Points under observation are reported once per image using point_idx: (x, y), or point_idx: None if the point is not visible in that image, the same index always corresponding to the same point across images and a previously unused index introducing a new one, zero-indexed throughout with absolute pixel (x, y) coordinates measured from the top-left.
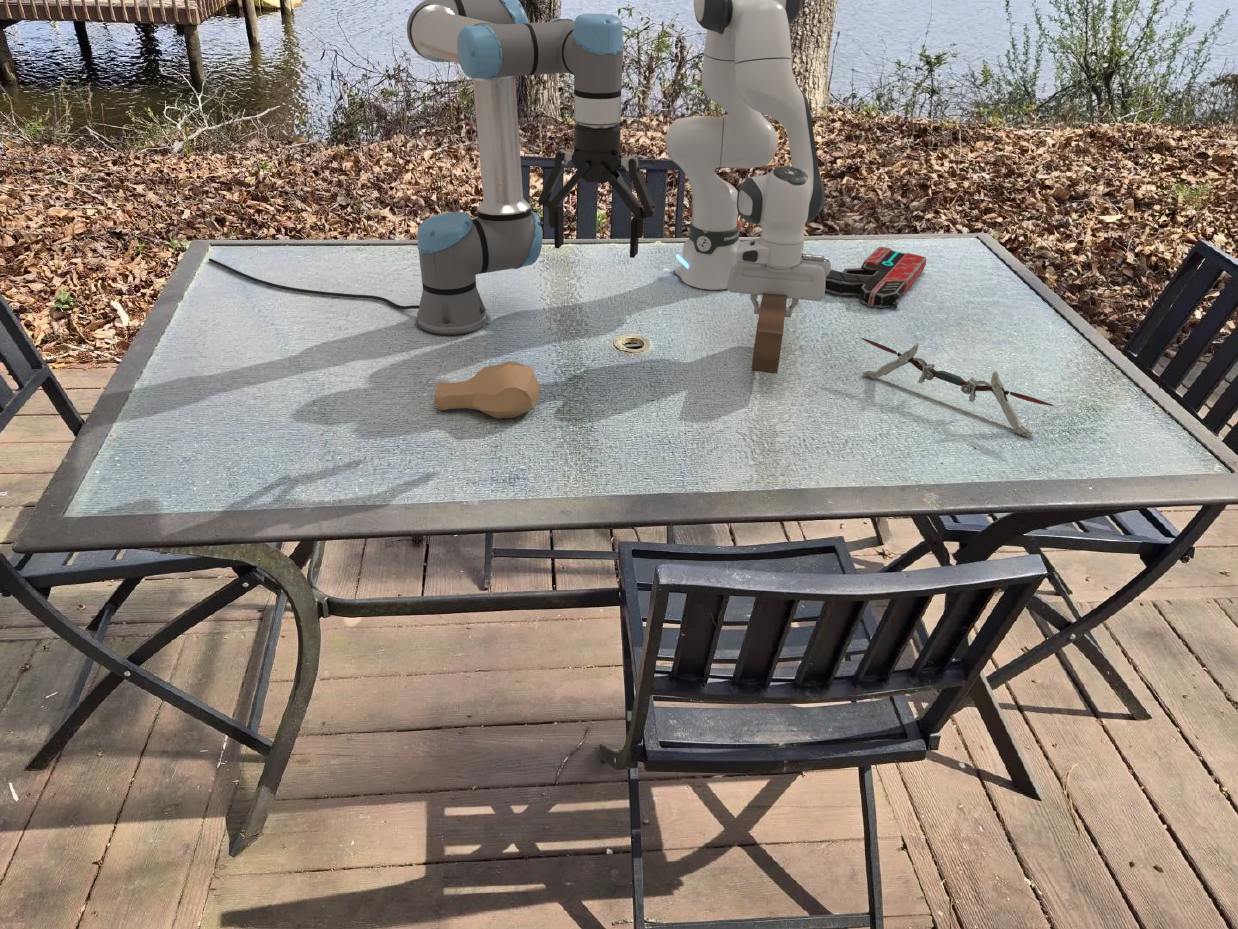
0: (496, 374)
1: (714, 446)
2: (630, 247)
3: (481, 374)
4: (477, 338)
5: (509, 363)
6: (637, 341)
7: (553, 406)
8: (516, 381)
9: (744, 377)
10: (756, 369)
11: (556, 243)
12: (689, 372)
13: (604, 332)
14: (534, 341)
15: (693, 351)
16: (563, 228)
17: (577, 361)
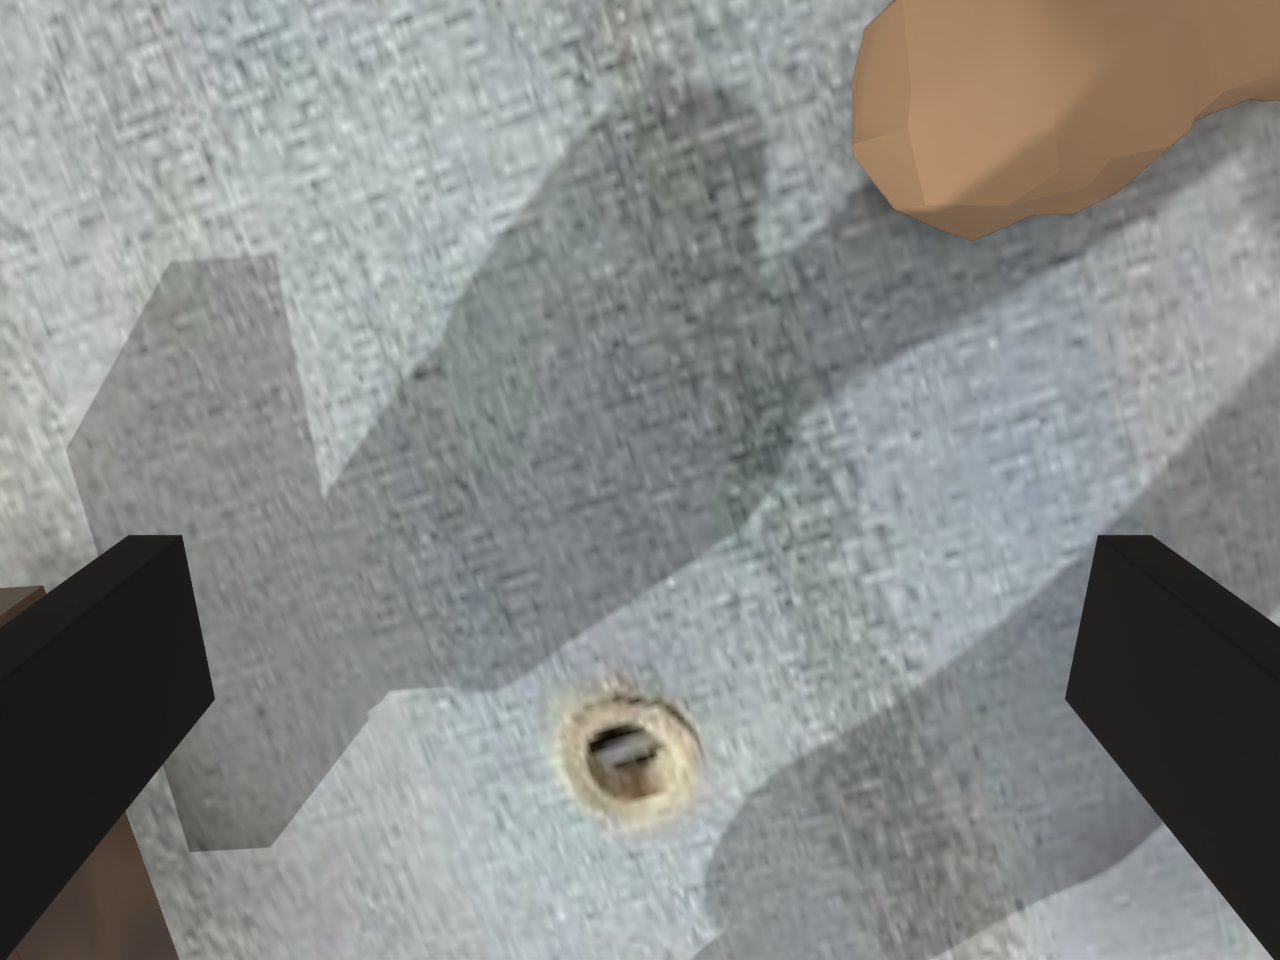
0: (1092, 40)
1: (63, 93)
2: (99, 592)
3: (1168, 79)
4: None
5: (1051, 144)
6: (617, 781)
7: (786, 199)
8: (970, 11)
9: None
10: (17, 590)
11: (1159, 562)
12: (361, 622)
13: (754, 809)
14: (996, 675)
15: (400, 769)
16: (1169, 826)
17: (792, 578)
